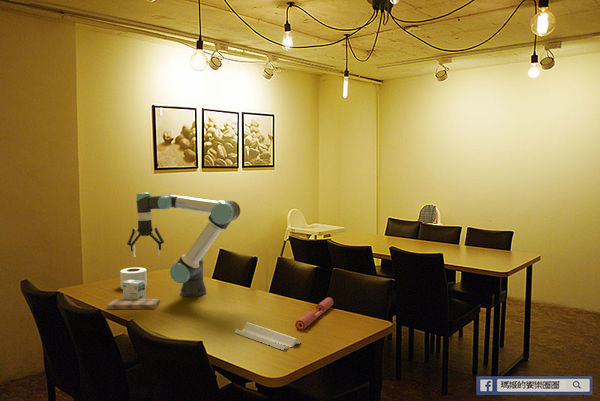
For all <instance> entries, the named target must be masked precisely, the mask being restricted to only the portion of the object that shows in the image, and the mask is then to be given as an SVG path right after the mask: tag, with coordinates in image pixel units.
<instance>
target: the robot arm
mask: <svg viewBox="0 0 600 401" xmlns="http://www.w3.org/2000/svg"><path fill="white" fill-rule="evenodd" d="M170 208H171V209H172V208H173V209H179V210H180V209H181V210H187V211H192V212H193V211H194V212H200V213H206V214H209V215H208V217H207V219H208V222H207V224H206V225H205V226H204V228H203V229H202V231H201V232H200V233H199V235H198V236H197V238H196V239H195V240H194V242H193V243H192V245H191V247H190V248H189V249H188V250H187V252H186V253H184V254H182V255H181V256H180V257H179V259H178V260H177V262H175V263H174V264H172V265H171V267H170V269H169V275H170V278H171V279H172V280H173V281H174V282H175V283H177V284H181V288H180V291H179V292H180V295H181V296H183V297H191V298H192V297H193V298H194V297H200V296H203V295H206V294H207V287H206V284H205V280H204V256H205V254H206V253H207V252H208V250H209V249H210V247H211V246H212V244H213V243H214V242H215V240H216V239H217V238H218V236H219V234H220V233H221V231H223V230H224V231H225V230H227V228H228V226H229V225H230V224H231V222H233V221H235V220H237V219H238V217H240V214H241V207H240V205H239V204H238V202H236V201H234V200H224V199H219V200H218V201H217V200H211V199H205V198H204V199H203V198H198V197H197V198H196V197H191V196H184V195H177V194H174V193H170V194H164V195H153V196H152V195H151V192H138V193H136V209H137V211H136V213H137V217H136V218H137V228H132V232H131V235H130V237H129V239H128V241H127V245H128V246H130V251H131V252H132V257H133V258H136V256H137V255H136V254H137V253H136V245H135V244H136V243H137V241H138V240H139V238H140V237H148V236H150V237H151V238H152V239H153V241H155V242H156V249H157V251H156V253H157V257H160V255H161V251H162V244H164V243H165V240H164V238H163V237H162V235H161V234H160V231H159V228H158V227H153V225H152V223H153V222H152V210H168V209H170ZM153 231H154V233H155V234H156V236H157V237H156V236H155V235H154V233H153ZM137 232H138V235H137V236H136V237H135V238H134V236H135V234H136V233H137ZM133 238H134V240H133Z"/></svg>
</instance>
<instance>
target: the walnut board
mask: <svg viewBox="0 0 600 401" xmlns="http://www.w3.org/2000/svg"><path fill="white" fill-rule="evenodd" d="M160 304H161V299H160V298H146V299H123V298H122V299H121V298H117V299H116V298H115V299H113V300H112V301H111V302H109V303H108V304H107V310H124V309H125V310H151V309H152V310H156V309H157V307H158V306H159V305H160Z"/></svg>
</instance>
